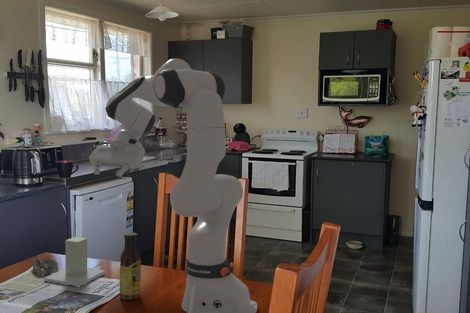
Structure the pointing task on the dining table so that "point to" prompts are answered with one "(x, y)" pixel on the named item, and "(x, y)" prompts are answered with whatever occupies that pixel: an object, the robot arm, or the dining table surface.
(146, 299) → the dining table surface
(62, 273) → the tile
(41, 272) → the mossy rock
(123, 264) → the sauce bottle
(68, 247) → the sage block
